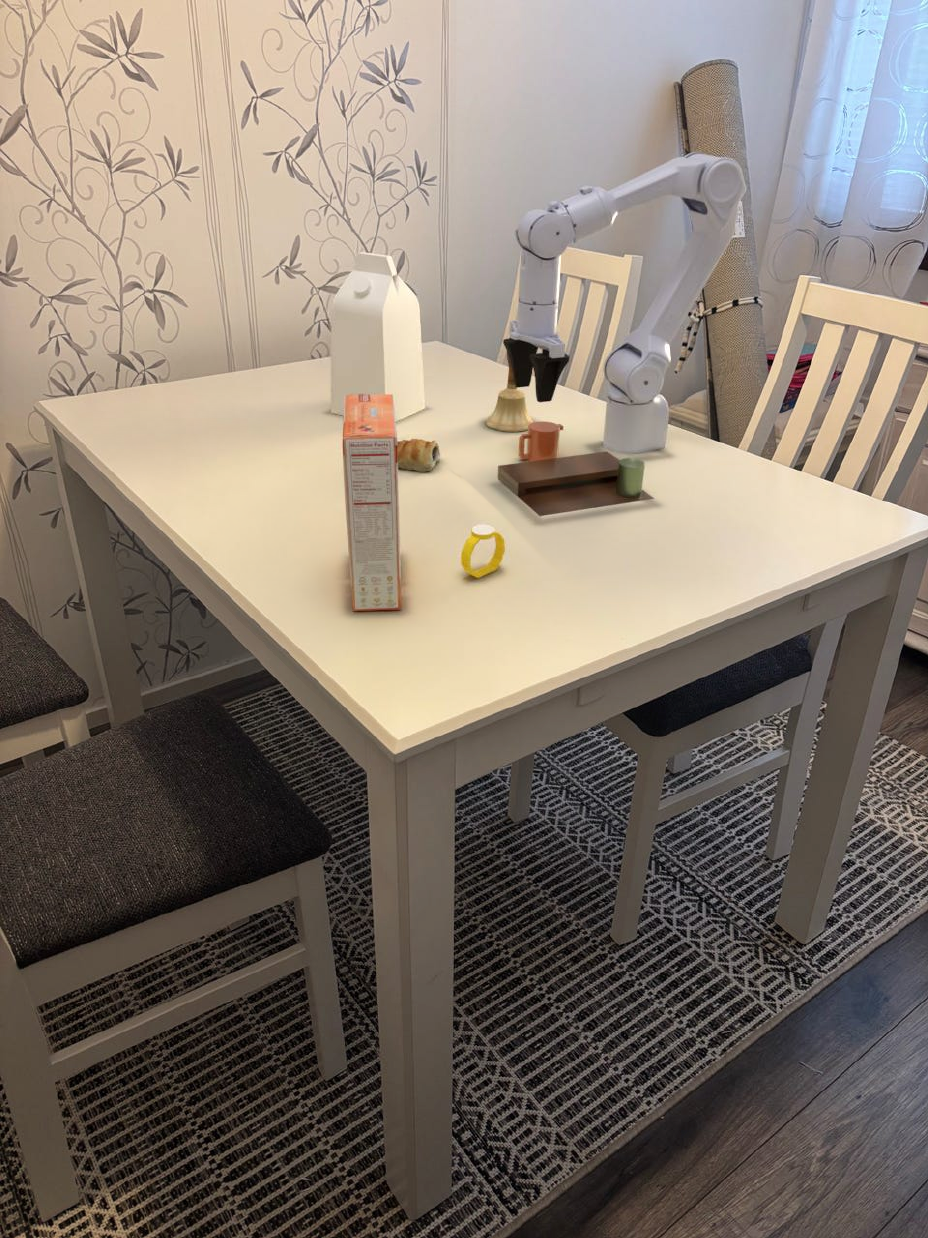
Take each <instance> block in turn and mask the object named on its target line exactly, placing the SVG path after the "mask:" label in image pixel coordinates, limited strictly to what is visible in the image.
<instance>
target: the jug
mask: <svg viewBox="0 0 928 1238" xmlns="http://www.w3.org/2000/svg"><path fill="white" fill-rule="evenodd" d="M561 431H564V425H562V424H560V423H556V422H550V421H533V423H531V424H529V425H528V430H527V433H521V435H520V436H519V438H518V439H519V440H518V457H519V458H520V459H521V460H527V461H528V462H531V461H538V460H546V459H553V458H559V447H560V432H561ZM526 440H527V441H526ZM525 441H526V442H527V443H526V453H525Z"/></svg>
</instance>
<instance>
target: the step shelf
mask: <svg viewBox="0 0 928 1238" xmlns="http://www.w3.org/2000/svg"><path fill="white" fill-rule="evenodd" d="M620 460H621V459H619V458H617V457H616V456H614V455H613V454H611V453H610V452H609V451H600V452H591V453H584V454H577V455H570V456H562V457H561V456H560V457H558V458H553V459H546V460H538V461H524V462H515V463H509V464H502V465H501V464H500V465H498V466H497V480H498V481H499V482H500V483H501V484H503V485H504V486H505V487H506V488H507V489H508V490H509V491H511V493H512V494H514V495H515V496H516V497H517V498H519V499H520V500H521V501H522V502H523V503H524V504H526V506H528V507H529V508H530V509H531V510H532V511H533V512H534V513H535V514H537V516H539V517H542V516H550V515H557V514H562V513H571V512H575V511H582V510H583V511H584V510H589V509H595V508H596V509H597V508H601V507H608V506H615V505H621V504H628V503H634V502H640V501H641V502H642V501H647V500H654V499H655V497H653V496H652V495H650V494H649V493H648V492H646V491H645V490H643V489H642V491H641V495H640V496H638V497H623V496H620V495H618V494H617V493H616V484H617V475H618V465H619V461H620Z"/></svg>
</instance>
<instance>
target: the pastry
mask: <svg viewBox="0 0 928 1238" xmlns="http://www.w3.org/2000/svg"><path fill="white" fill-rule="evenodd" d="M397 448H398V469H402V470H407V471H412V470H414V471H416V472H430V471H432V470H433V469H434V468H435V465H436V464H437V463H436V462H438V461H439V460H440V458H441V453H440V446H439V444H438V442H437V441H436V440H432V441H428V440H424V439H418V438H411V439H410V440H407V439H402V440H399V441H398V440H397Z"/></svg>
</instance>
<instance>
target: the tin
mask: <svg viewBox="0 0 928 1238" xmlns="http://www.w3.org/2000/svg"><path fill="white" fill-rule="evenodd" d="M619 460H620V461H619V465H618V475H617V484H616V493H617V494H618V495H620V496H623V497H638V496H640V495H641V491H642V490H643V483H644V474H645V466H646V464H645V462H644V461H643V460H641V459H639V458H633V457H631V458H630V457H627V458H621V459H619Z"/></svg>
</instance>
